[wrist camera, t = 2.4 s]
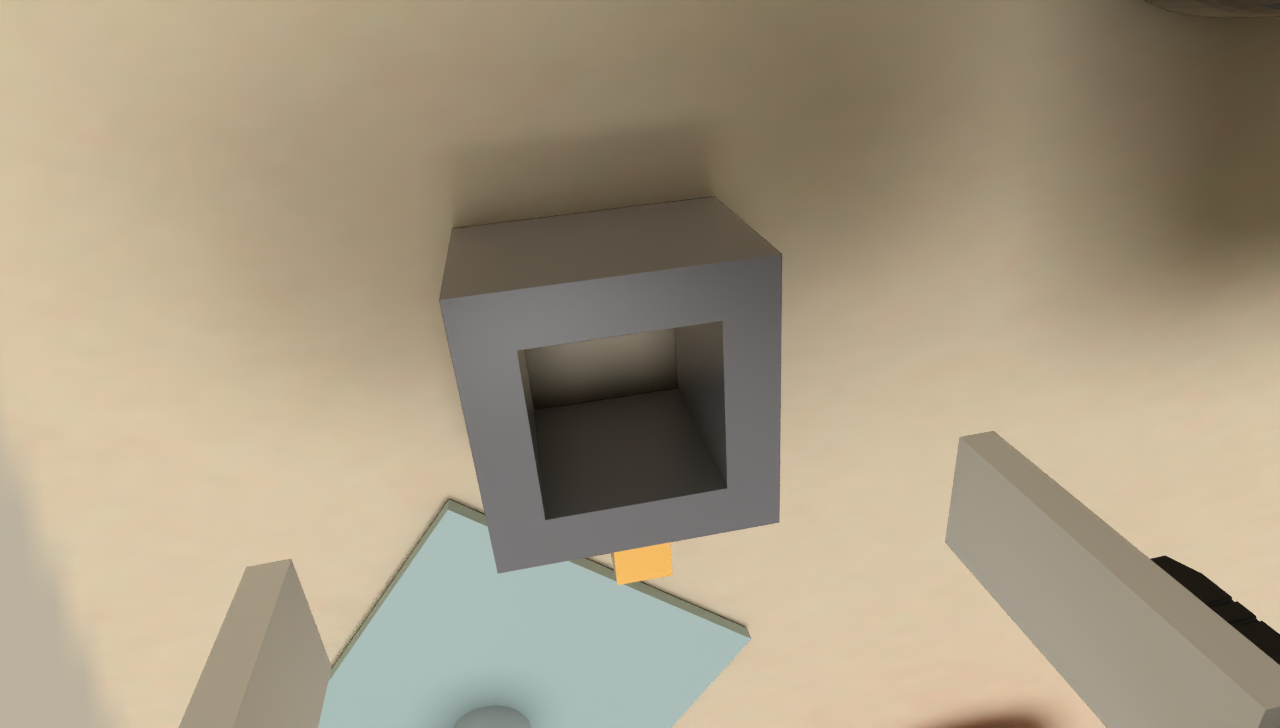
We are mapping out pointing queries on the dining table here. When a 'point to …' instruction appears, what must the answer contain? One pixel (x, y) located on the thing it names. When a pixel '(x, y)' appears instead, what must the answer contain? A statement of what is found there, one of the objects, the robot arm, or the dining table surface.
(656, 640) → the board
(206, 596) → the dining table surface
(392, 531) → the dining table surface
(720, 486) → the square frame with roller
